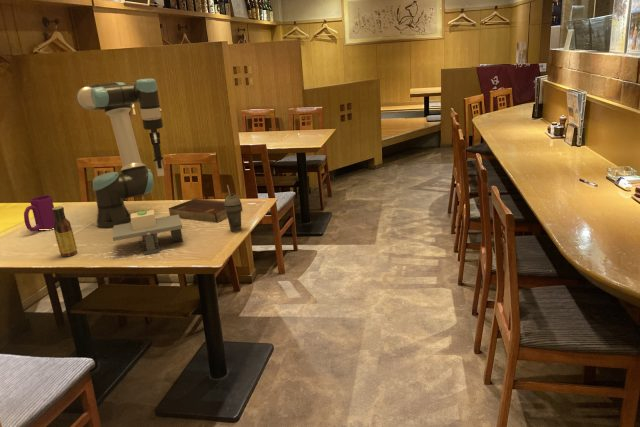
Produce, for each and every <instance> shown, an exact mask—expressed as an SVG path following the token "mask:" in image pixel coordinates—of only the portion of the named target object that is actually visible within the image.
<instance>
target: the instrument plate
mask: <svg viewBox="0 0 640 427" xmlns="http://www.w3.org/2000/svg"><path fill="white" fill-rule="evenodd" d="M130 216H131V221H130V222H129V223H126V224H120V225H115V226H114V227H112V229H113V230H112V241H113V242H116V241H120V240H121V241H122V240H126V239H127V240H128V239H131V238H138V237H142V236H144V235H151V234H155V233H157V234H159V233H165V232H171V231H172V230H177V229H181V230H183V228H184V227H183V224H182V221H181V218H180V217H179V214H178V215H172V216H170V215H168V216H162V217H156V215H155V210H154V209H150V210H140V211H138V212H133V213H130Z"/></svg>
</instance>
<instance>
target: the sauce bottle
mask: <svg viewBox="0 0 640 427" xmlns="http://www.w3.org/2000/svg"><path fill="white" fill-rule="evenodd" d="M52 211H53V213H54V217H55V218H54V219H55V222H54V229H53V230H54V234H55V240H56V243H57V246H58V250H59V253H60V256H61V257H62V256H68V257H72V256H71V255H73V256H75V255H76V254H78V250H77V248H78V247H77V245H76V239H75V236H74V232H73V229H72V225H71V222H70V221H69V220H68V219H67V218H66V214H65V209H64V206H59V205H58V206H54V208H52Z"/></svg>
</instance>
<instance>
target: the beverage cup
mask: <svg viewBox="0 0 640 427" xmlns="http://www.w3.org/2000/svg"><path fill="white" fill-rule="evenodd" d="M226 186H227V190H228V191H227V192H228V195H227V196H226V198H225V199H224V200H223V201H224V206H225V209H226V213H227V217H228V218H227V220H228V226H229V229H230V232H231V233H238V232H240V231H242V211H241V204H242V201H241V199H240V198H239V197H238V195H236V194H231V191H230V187H229V184H227V185H226Z"/></svg>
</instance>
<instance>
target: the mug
mask: <svg viewBox="0 0 640 427" xmlns="http://www.w3.org/2000/svg"><path fill="white" fill-rule="evenodd" d="M29 203H30V205H29V206H27V207H25V209H24V212H23V219H24V220H23V221H24V224H25V227H26V229H27V230H28V231H30V232H37V231H38V230H39V229H51V228H54V222H55V219H54V218H55V217H54V213H53V211H52V208H55V206H54V202H53V197H52V195H39V196H35V197H32V198H30V199H29ZM30 210H31V211H32V214H33V218H34V222H35V226H33V227H32V225H31V222H30V216H29V213H30Z"/></svg>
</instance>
